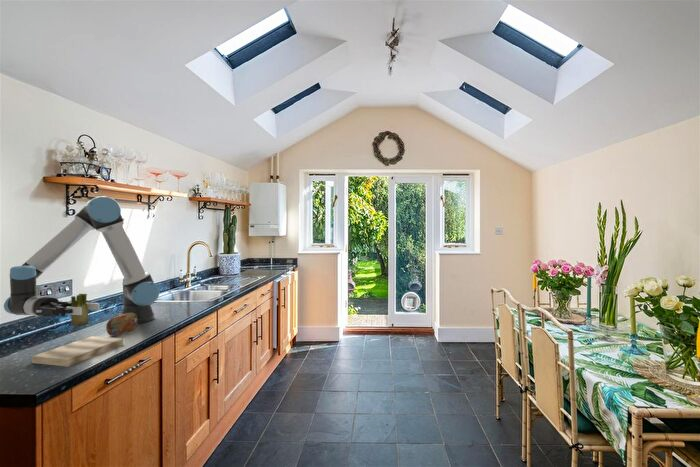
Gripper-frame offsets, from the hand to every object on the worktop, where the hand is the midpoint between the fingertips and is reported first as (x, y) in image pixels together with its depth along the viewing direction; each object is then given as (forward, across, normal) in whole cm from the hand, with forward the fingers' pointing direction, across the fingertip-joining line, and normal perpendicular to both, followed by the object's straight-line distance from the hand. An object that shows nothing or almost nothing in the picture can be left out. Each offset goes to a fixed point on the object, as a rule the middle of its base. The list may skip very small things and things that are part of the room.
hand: (89, 308), depth 128 cm
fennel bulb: (-5, 0, -7) cm, 8 cm away
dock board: (-5, 0, -17) cm, 18 cm away
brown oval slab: (-11, -24, -18) cm, 32 cm away
